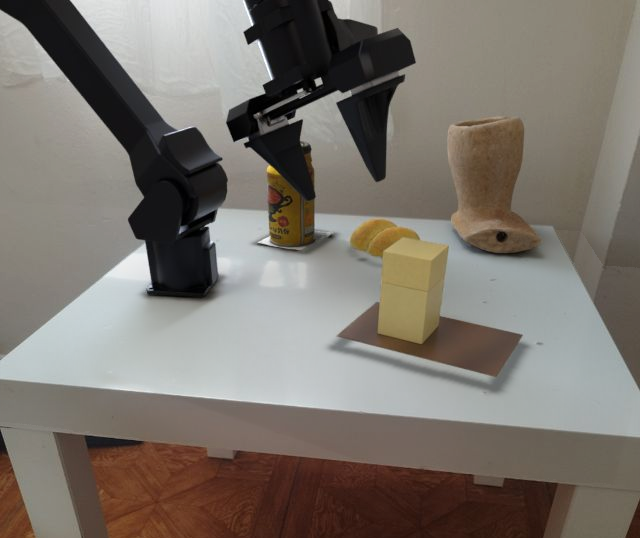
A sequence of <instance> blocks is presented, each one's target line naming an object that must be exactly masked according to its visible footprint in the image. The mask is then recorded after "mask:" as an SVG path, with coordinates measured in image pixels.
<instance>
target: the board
mask: <svg viewBox="0 0 640 538" xmlns="http://www.w3.org/2000/svg"><path fill="white" fill-rule="evenodd" d="M379 306H380V301H375V302H374V303H373V304H372V305H370V306H369V307H368V308H367V309H366V310H365V311H363V313H361V314H360V315H358V316H357V318H355V319H354V320H353V321H352V322H351V323H349V324H348V325H347V326H345V328H344V329H342V330H341V331H340V332H339V333H338V334H336V337H337V338H342V339H345V340H350V341H354V342H357V343H360V344H361V343H362V344H364V345H369V346H372V347H377V348H381V349H384V350H389V351H392V352H396V353H400V354H404V355H407V356H412V357H415V358H420V359H422V360H423V359H424V360H427V361H432V362H435V363H439V364H443V365H447V366H450V367H455V368H458V369H463V370H466V371H470V372H474V373H478V374H483V375H485V376H490V377H493V378H497V377H498V376H499V374H500V372H501V371H502V370H503V368H504V366H505V364H506V363H507V362H508V360H509V358H510V356H511V355H512V353H513V352H514V350H515V349H516V347H517V346H518V344H519V342H520V340H522V338H523V334H522V333H517V332H513V331H508V330H504V329H499V328H495V327H491V326H487V325H482V324H477V323H472V322H469V321H464V320H460V319H459V320H458V319H455V318H450V317H446V316H442V315H440V318H439V325H438V327H437V328H436V329H435V330H434V331H433V332H432V334H431V335H430V336H429V337H428V338H427V339H426V340H425V341H424V342H423V343H422V344H418V343H414V342H410V341H406V340H402V339H398V338H394V337H390V336H386V335H382V334H378V320H379Z"/></svg>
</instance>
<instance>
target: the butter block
mask: <svg viewBox="0 0 640 538" xmlns="http://www.w3.org/2000/svg"><path fill="white" fill-rule="evenodd" d="M445 278H446V275H445V276H444V277H443V278H442V279H441V280H440V281H439V282H438V283H437V284H436V285H434V286H433V287H432V288H431V289H430V290H429V291H428V292H426V291H422V290H417V289H412V288H407V287H403V286H398V285H393V284H388V283H384V282H381V281H380V293H379V302H380V306H379V320H378V334H382V335H386V336H390V337H394V338H398V339H402V340H406V341H410V342H414V343H418V344H422V343H423V342H424V341H425V340H426V339H427V338H428V337H429V336H430V335H431V334H432V332H433V331H434V330H435V329H436V328H437V327H438V325H439V318H440V316H441V311H442V304H443V303H442V302H443V294H444V288H445V281H446V280H445Z"/></svg>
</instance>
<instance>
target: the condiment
mask: <svg viewBox="0 0 640 538" xmlns="http://www.w3.org/2000/svg"><path fill="white" fill-rule="evenodd" d="M300 142H301V146H302V149H303V152H304V155H305V159H306V162H307V165H308V168H309V172H310V175H311V178H312V181H313V186H314V188H315V179H316V177H315V168H314V166H313V163H312V162H313V158H312V150H313V149H312V145H311V144H310V143H308V142H307V141H303V140H302V141H301V140H300ZM266 187H267V188H266V189H267V214H268V216H267V217H268V235H269V236H267V237H265V238H263V239H261V240H259V241H256V243H258V244H263V245H267V246H271V247H276V248H282V249H287V250H297V251H302V250H304V249H306V248H307V247H309V246H311V245H312V244H314V243H316V242H317V241H319V240H321V239H323V238H329V236H330V235H332V234H334V233H335V231H322V230H316V228H315V225H316V224H315V221H316V220H315V214H316V213H315V206H316V205H315V202H316V201H315V199H316V198H315V199H313V200H311V201H308V202H307V201H306V200H305V199H304V198H303V197H302V196H301V195H300V194H299V193H298V192H297V191H296V190H295V189H294V188H293V187H292V186H291V185H290V184H289V183H288V182H287V181H286V180H285V179H284V178H283V177H282V176H281V175H280V174H279V173H278V172H277V171H276V170H275V169H274V168H273V167H272V166H271V165H270V164H268V167H267V168H266Z"/></svg>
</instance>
